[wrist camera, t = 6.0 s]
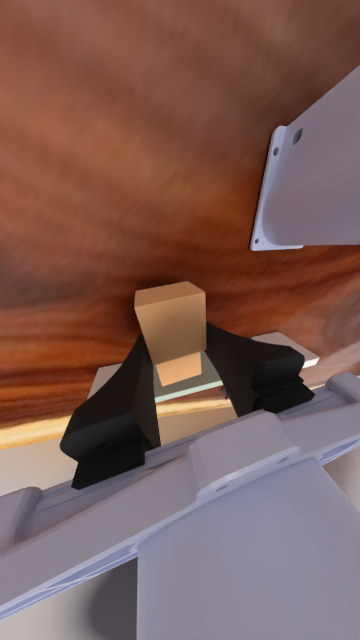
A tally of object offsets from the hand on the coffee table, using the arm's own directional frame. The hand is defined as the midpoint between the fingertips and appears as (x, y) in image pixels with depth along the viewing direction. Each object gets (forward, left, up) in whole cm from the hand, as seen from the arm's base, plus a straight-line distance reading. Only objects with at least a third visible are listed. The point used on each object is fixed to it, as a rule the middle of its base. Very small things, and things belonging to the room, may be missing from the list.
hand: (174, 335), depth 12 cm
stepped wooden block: (+1, 0, -2) cm, 2 cm away
